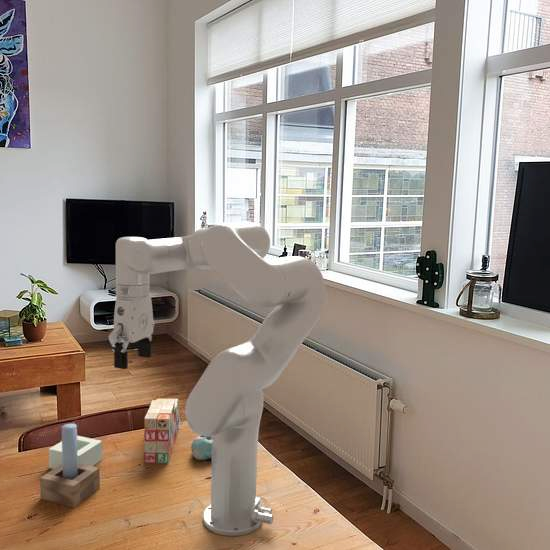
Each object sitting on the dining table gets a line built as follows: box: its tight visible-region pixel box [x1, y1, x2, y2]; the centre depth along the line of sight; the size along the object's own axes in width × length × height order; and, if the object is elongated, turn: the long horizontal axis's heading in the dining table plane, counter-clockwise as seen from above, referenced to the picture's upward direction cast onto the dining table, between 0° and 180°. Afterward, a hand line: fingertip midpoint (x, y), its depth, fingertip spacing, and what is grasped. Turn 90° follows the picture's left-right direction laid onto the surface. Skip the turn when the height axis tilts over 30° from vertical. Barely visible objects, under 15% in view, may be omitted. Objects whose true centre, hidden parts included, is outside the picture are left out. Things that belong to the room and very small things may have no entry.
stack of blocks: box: [143, 398, 180, 464], centre depth 160 cm, size 21×6×12 cm, turn 2°
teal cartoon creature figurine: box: [190, 435, 213, 461], centre depth 156 cm, size 11×7×12 cm
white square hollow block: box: [48, 435, 104, 470], centre depth 148 cm, size 9×9×5 cm
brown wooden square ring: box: [39, 463, 101, 508], centre depth 135 cm, size 9×9×5 cm
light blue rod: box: [61, 423, 78, 480], centre depth 134 cm, size 3×3×16 cm
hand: (133, 362), depth 140 cm, fingers open, 9 cm apart
